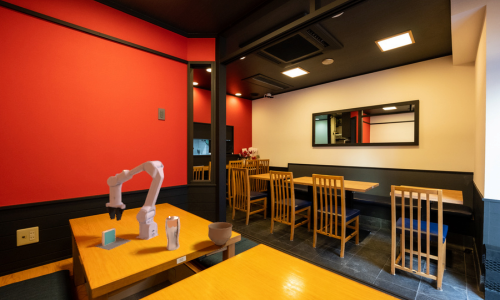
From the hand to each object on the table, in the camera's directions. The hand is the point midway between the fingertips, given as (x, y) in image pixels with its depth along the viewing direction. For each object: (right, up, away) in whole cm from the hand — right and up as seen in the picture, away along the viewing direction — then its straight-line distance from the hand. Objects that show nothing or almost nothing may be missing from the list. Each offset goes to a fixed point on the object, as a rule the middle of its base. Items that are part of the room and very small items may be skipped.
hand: (115, 219), depth 123 cm
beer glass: (+40, -9, -17) cm, 44 cm away
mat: (+6, -9, -11) cm, 16 cm away
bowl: (+63, -8, -13) cm, 65 cm away
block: (+4, -9, -12) cm, 15 cm away
